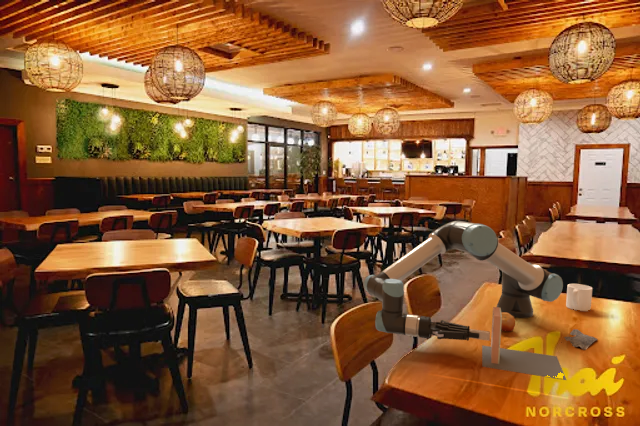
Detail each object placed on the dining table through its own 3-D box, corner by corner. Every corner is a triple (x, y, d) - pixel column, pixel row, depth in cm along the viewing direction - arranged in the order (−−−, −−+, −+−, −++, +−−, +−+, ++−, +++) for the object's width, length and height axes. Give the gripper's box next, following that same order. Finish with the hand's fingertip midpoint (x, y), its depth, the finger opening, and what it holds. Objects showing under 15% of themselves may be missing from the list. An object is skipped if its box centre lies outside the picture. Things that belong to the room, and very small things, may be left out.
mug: (569, 303, 208) (570, 282, 207) (593, 308, 201) (594, 286, 200) (561, 308, 199) (563, 287, 198) (586, 314, 192) (587, 291, 191)
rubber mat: (482, 367, 138) (482, 366, 138) (482, 346, 155) (482, 345, 155) (566, 381, 130) (566, 380, 129) (556, 357, 146) (556, 356, 146)
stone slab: (572, 328, 172) (601, 334, 164) (572, 332, 172) (601, 338, 165) (556, 341, 160) (586, 348, 152) (556, 345, 160) (586, 353, 152)
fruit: (513, 323, 175) (515, 310, 171) (514, 338, 169) (516, 325, 165) (492, 320, 178) (493, 307, 173) (492, 335, 172) (494, 322, 167)
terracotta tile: (491, 362, 141) (493, 315, 139) (490, 350, 150) (493, 306, 148) (499, 363, 140) (501, 316, 138) (498, 352, 149) (500, 307, 147)
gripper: (421, 330, 159) (488, 339, 151) (415, 343, 147) (489, 354, 138) (421, 310, 158) (490, 319, 150) (416, 322, 146) (490, 332, 138)
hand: (489, 336), depth 144 cm, fingers closed
